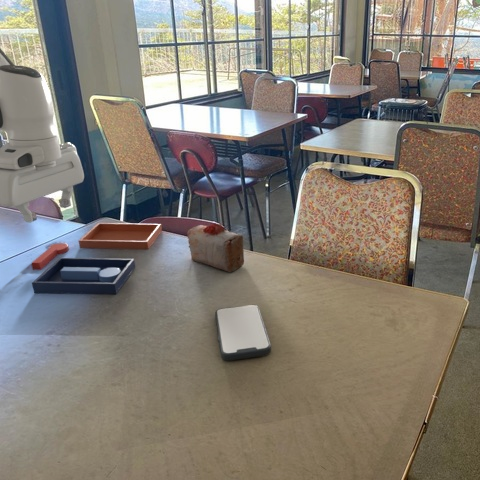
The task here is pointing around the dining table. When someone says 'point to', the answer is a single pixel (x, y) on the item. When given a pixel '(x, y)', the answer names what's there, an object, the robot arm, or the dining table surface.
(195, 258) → the food item
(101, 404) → the dining table surface
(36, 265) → the red spoon
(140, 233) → the terracotta tray
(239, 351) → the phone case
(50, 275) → the navy tray
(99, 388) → the dining table surface
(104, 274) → the blue spoon
